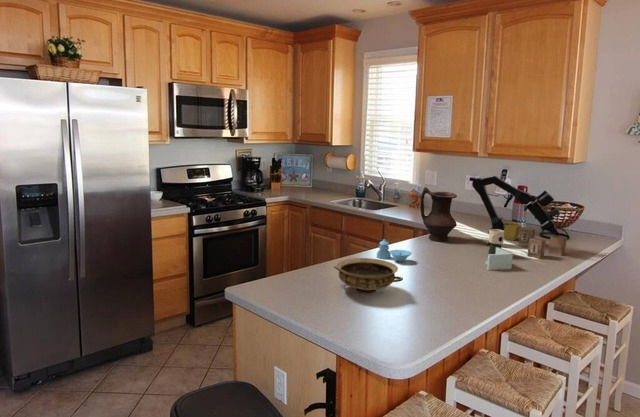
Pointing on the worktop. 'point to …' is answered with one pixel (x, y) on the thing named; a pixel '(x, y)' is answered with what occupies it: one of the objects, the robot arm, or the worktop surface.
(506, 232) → the flower pot
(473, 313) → the worktop surface
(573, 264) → the worktop surface
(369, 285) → the ceramic bowl
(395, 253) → the blue jar and dish
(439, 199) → the jug
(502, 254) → the l-shaped corner panel
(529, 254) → the numbered block
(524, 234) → the numbered block
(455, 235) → the worktop surface
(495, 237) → the character mug
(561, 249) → the plain block
